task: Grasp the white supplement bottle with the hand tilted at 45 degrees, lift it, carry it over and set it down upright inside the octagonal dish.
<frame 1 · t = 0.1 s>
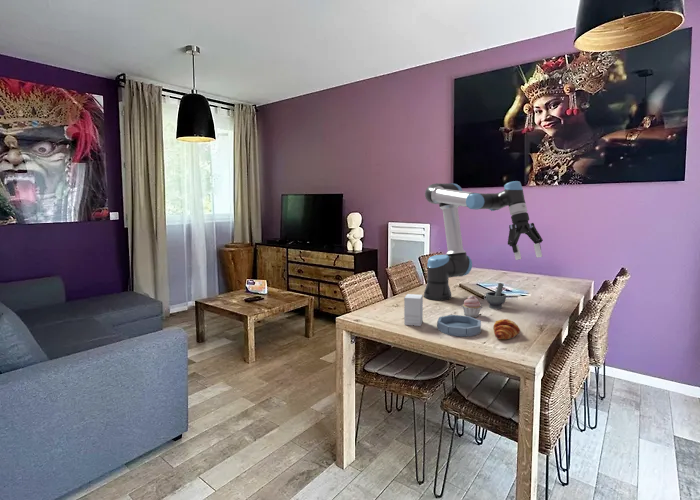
hand: (529, 258, 183), 28 cm above the table, tool tilted 20°, fingers open, 13 cm apart
croissant: (506, 335, 164), on the table
mortar and pestle: (495, 307, 204), on the table
supplement box: (413, 323, 179), on the table
octagonal dish: (458, 329, 171), on the table
cupcake: (471, 316, 190), on the table
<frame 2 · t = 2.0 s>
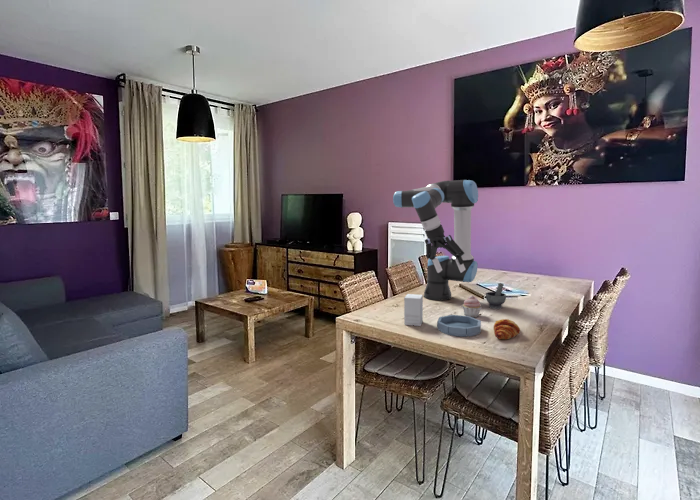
hand: (451, 271, 173), 24 cm above the table, tool tilted 25°, fingers open, 13 cm apart
nothing on the table moved.
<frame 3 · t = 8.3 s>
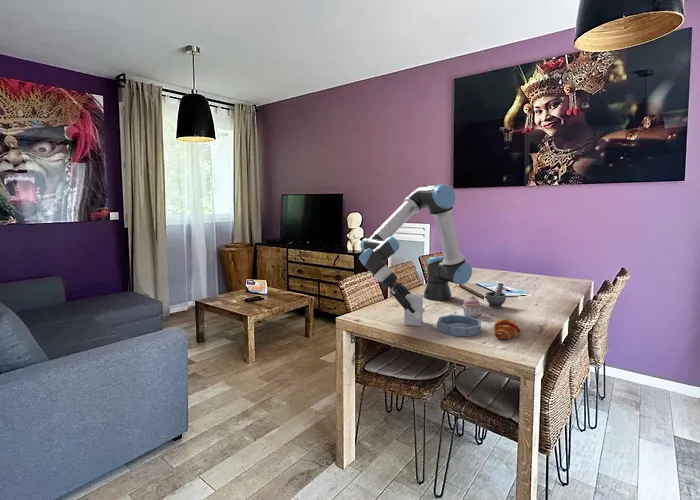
hand: (421, 315, 178), 4 cm above the table, tool tilted 45°, fingers closed on supplement box, 7 cm apart
supplement box: (413, 323, 179), on the table, touching gripper
everything else where it was.
when the fingers open (6 cm above the table, at t = 13.4 s): supplement box drops 1 cm, resting on octagonal dish.
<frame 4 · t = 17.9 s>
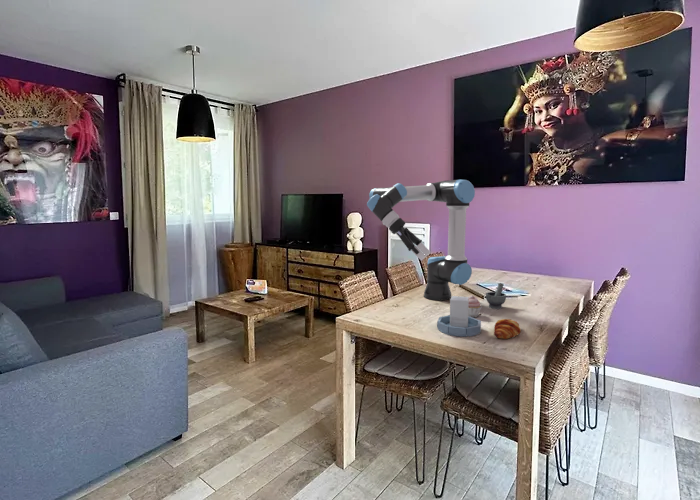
hand: (426, 256, 179), 30 cm above the table, tool tilted 45°, fingers open, 13 cm apart
supplement box: (458, 327, 171), point 1 cm above the table, touching octagonal dish
everything else where it was.
at the end: supplement box inside the target area on the octagonal dish (0.3 cm from its centre), point 0.8 cm above the octagonal dish's base; supplement box tilted 0°; the gripper is holding nothing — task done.
